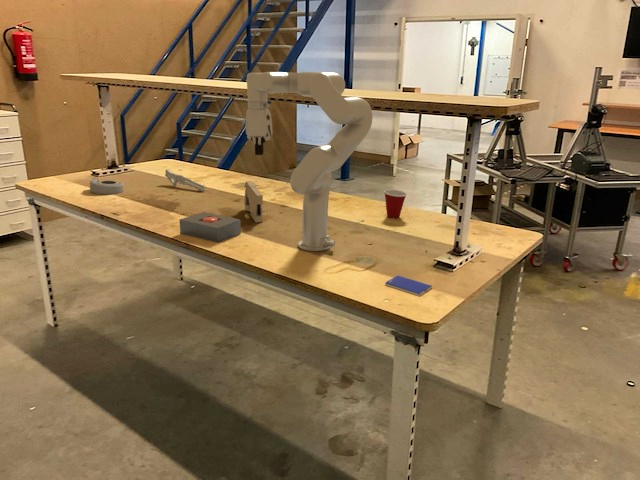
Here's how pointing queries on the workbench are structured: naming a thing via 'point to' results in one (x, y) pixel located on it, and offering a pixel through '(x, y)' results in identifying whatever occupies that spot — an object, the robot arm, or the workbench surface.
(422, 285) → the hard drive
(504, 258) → the workbench surface
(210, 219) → the button
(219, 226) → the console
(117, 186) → the turbocharger housing
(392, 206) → the plastic cup
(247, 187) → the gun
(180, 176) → the gun
